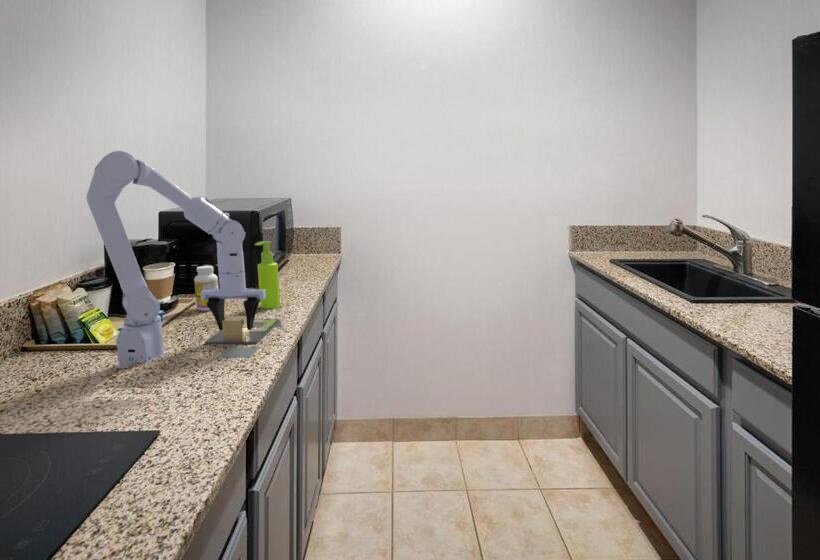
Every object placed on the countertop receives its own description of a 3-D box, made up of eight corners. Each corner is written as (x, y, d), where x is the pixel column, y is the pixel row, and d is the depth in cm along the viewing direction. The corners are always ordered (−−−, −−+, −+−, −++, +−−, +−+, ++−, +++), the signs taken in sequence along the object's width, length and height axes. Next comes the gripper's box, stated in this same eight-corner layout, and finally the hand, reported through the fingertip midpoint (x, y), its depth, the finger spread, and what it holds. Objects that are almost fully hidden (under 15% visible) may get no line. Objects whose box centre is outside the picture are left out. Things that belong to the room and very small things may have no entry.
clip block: (242, 339, 126) (241, 320, 125) (223, 339, 126) (221, 321, 125) (249, 334, 131) (247, 315, 130) (230, 334, 131) (229, 316, 130)
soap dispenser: (253, 308, 166) (249, 242, 162) (269, 303, 172) (265, 239, 168) (268, 310, 163) (264, 243, 159) (284, 305, 169) (280, 240, 165)
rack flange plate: (257, 350, 125) (256, 341, 124) (205, 350, 125) (204, 342, 125) (281, 326, 144) (280, 319, 144) (236, 326, 145) (235, 319, 145)
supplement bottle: (196, 307, 168) (192, 266, 166) (218, 305, 171) (215, 264, 168) (197, 312, 162) (193, 269, 160) (221, 309, 165) (217, 267, 162)
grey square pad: (250, 364, 115) (249, 357, 115) (217, 364, 116) (216, 357, 115) (260, 353, 122) (260, 347, 122) (229, 353, 123) (229, 347, 122)
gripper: (268, 268, 129) (271, 324, 132) (207, 269, 130) (212, 324, 132) (258, 273, 122) (262, 332, 125) (194, 274, 123) (200, 332, 126)
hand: (236, 328), depth 128 cm, fingers open, 6 cm apart
